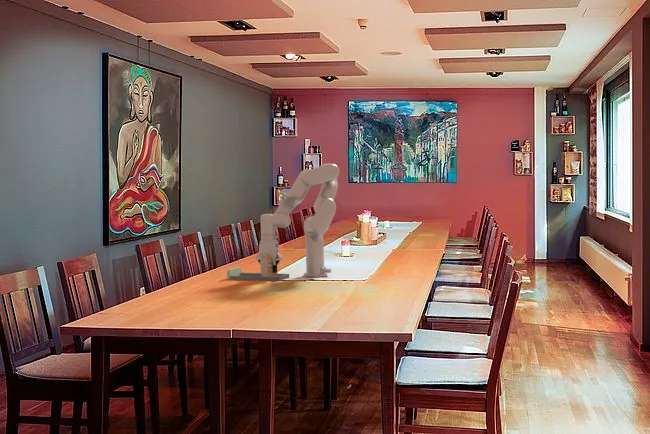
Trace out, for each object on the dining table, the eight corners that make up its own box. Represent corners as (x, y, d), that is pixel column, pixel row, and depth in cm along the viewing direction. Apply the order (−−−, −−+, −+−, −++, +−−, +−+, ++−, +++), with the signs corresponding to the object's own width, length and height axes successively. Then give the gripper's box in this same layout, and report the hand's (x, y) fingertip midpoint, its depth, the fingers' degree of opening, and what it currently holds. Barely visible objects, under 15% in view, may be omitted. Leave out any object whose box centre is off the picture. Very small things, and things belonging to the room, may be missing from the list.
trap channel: (289, 277, 408) (288, 268, 408) (278, 281, 396) (278, 271, 396) (239, 276, 419) (238, 266, 419) (227, 279, 407) (227, 270, 407)
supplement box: (268, 280, 400) (266, 255, 399) (261, 279, 403) (259, 254, 402) (278, 277, 407) (276, 252, 406) (271, 277, 410) (269, 252, 409)
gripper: (286, 237, 404) (287, 271, 405) (256, 236, 411) (257, 271, 412) (280, 238, 397) (281, 273, 398) (250, 238, 404) (251, 272, 405)
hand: (269, 272), depth 405 cm, fingers closed on supplement box, 5 cm apart
